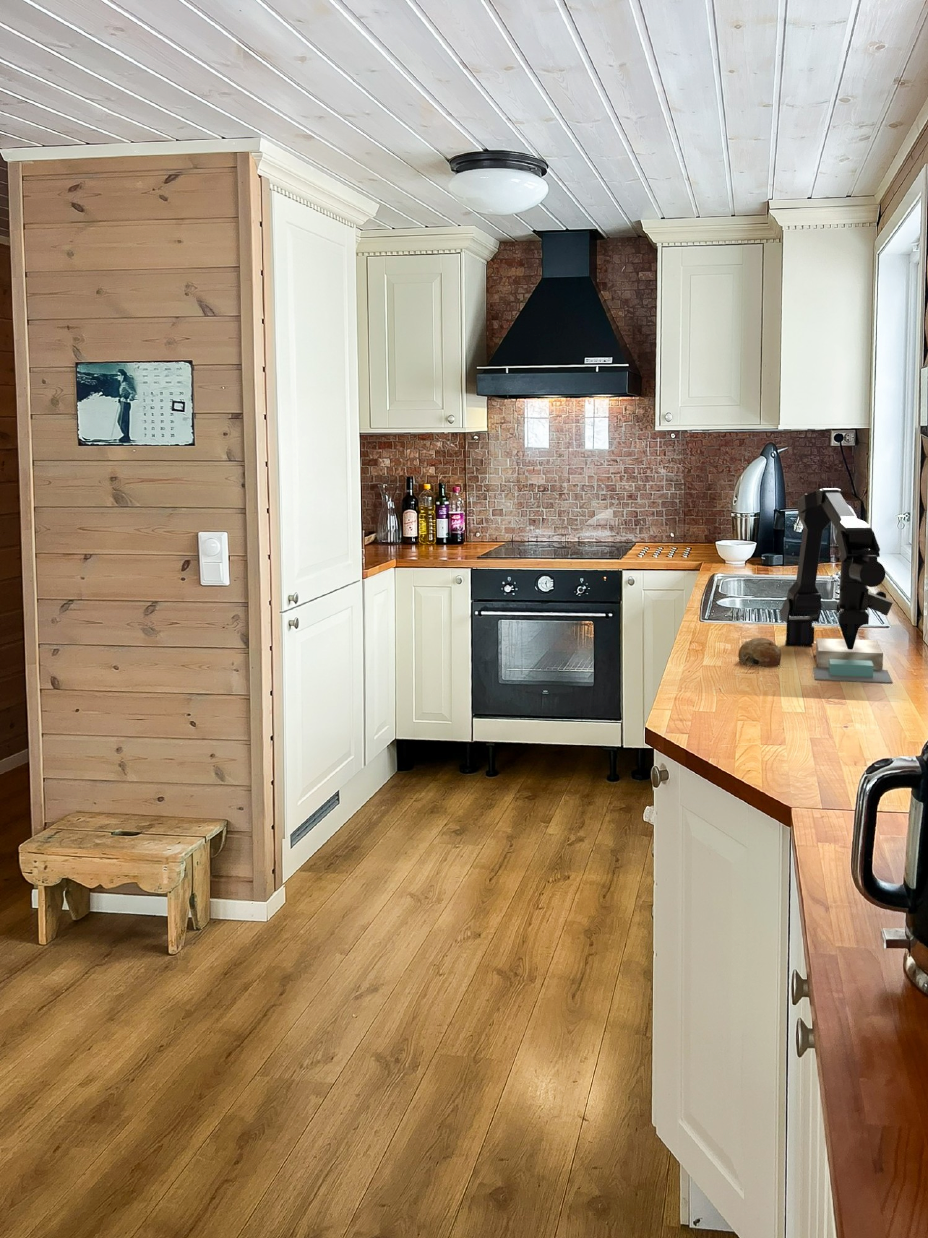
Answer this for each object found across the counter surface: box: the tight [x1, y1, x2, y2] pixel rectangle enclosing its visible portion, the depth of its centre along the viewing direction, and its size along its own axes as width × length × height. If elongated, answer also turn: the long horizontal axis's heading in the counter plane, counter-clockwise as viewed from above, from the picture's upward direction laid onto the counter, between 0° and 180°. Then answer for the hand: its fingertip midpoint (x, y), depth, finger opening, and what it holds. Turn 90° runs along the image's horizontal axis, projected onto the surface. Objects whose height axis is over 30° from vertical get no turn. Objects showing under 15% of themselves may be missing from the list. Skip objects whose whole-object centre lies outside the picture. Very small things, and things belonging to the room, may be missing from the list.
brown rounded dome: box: [737, 636, 782, 668], centre depth 272 cm, size 10×10×8 cm
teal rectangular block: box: [829, 659, 873, 677], centre depth 257 cm, size 9×6×2 cm, turn 75°
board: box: [815, 637, 884, 670], centre depth 272 cm, size 14×18×4 cm
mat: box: [812, 666, 893, 684], centre depth 256 cm, size 16×14×1 cm
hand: (850, 649), depth 263 cm, fingers closed
